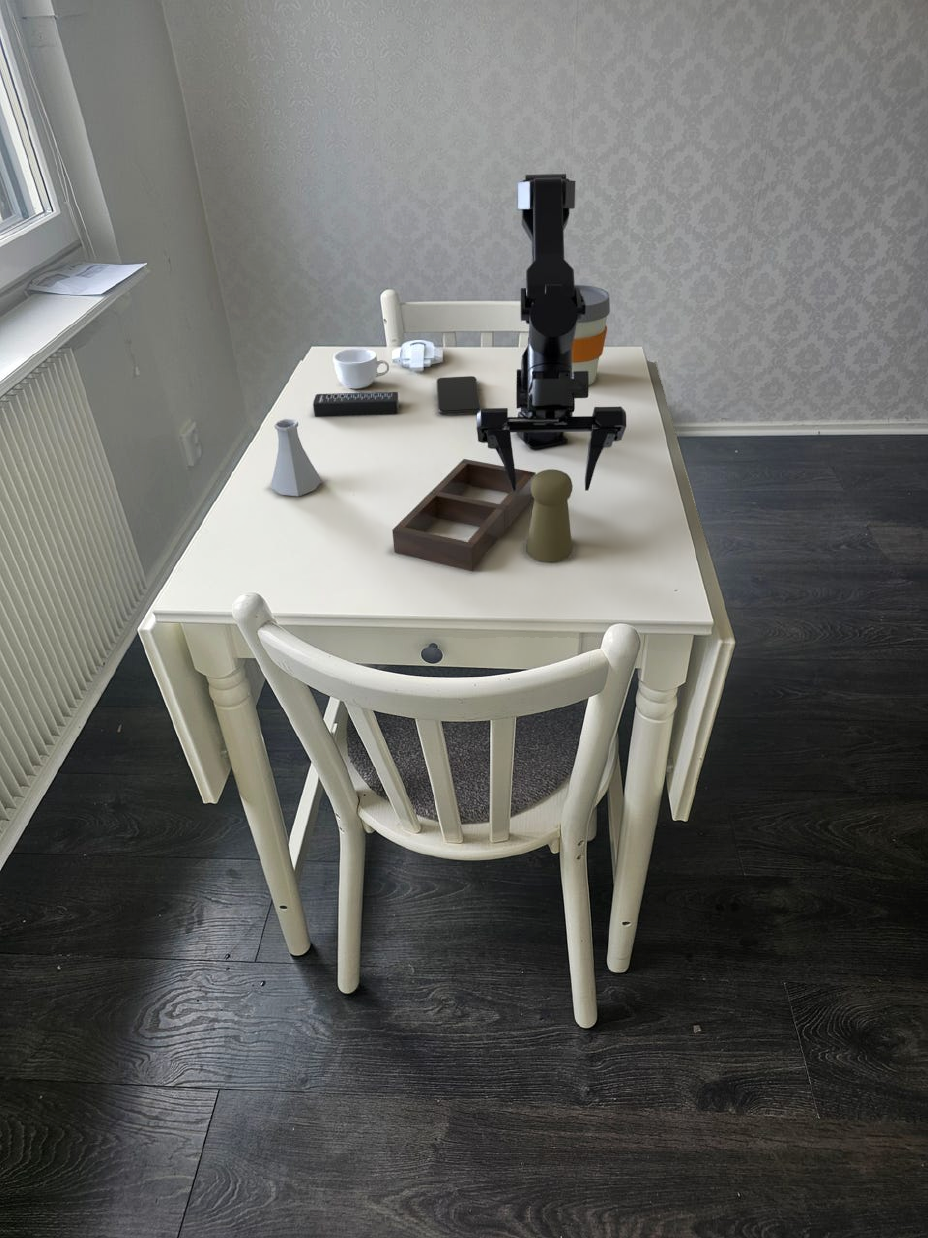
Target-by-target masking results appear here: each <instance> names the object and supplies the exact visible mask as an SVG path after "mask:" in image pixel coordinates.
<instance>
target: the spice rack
mask: <svg viewBox="0 0 928 1238" xmlns="http://www.w3.org/2000/svg"><path fill="white" fill-rule="evenodd" d="M515 474H516V491H513V490H512V487H511V484H510V481H509V479H508V476H507V473H506V469H505V467H504V465H499V464H494V463H489V462H484V461H483V462H482V461H478V460H473V459H467V458H463V459H462V460H461V461H460V462H458V464H457V465H456V466H455V467H454V468H453V469H452V470H451V471H450V472H449V473H448V474H447V475H446V476H445V477H444V478H443V479H442V480H441V481H440V482H439V483H438V484H437V485H436V486H435V487H434V488H433V489H432V490H431V491H430V492H429V493H428V494H427V495H426V496H425V497H424V498H423V499H422V500H420V501H419V503H418V504H417V505H416V506H415V507H414V508H413V509H412V510H411V511H410V512H408V513H407V515H406V516H404V518H403V519H402V520H401V521H399V523H397V525H395V527H394V528H393V529H391V530H392V541H393V552H394V553H395V554H398V555H399V554H400V555H404V556H407V557H411V558H416V559H420V560H425V561H429V562H432V563H436V564H441V565H445V566H449V567H453V568H457V569H462V570H466V571H469V572H474V570H475V569H476V568H477V566H478V565H479V564H480V563H481V562H482V560H483V559H484V558H485V556H486V555H487V554H488V553H489V551H490V550H491V549H492V548H493V547H494V546H495V544H496V543H497V542H498V540H499V539H500V538H501V537H502V535H503V534H504V533H505V532H506V531H507V529H508V528H509V527H511V525H512V524H513V522H514V521H515V520H516V519H517V517H518V516H519V515H520V514H521V513H522V511H523V510H524V508H526V506H527V505H528V504H529V502H530V501H531V500H532V499H533V496H532V493H531V482H532V479H533V477H534V476H535V475H536V474H537V473H536V471H531V470H524V469H519V468H515ZM468 486H473V487H479V488H483V489H488V490H494V491H498V492H503V493H508V494H506V496H505V497H504V499H503V500H502V501H501V502H500V503H496V502H491V501H486V500H481V499H477V498H471V497H467V496H462V495H460V494H461V493H462V492H463V491H464V490H465V489H466V488H467V487H468ZM437 518H440V519H444V520H448V521H452V522H457V523H462V524H466V525H471V526H475V527H478V528H477V530H476V531H475V532H474V533H473V535H471V537H470V538H469V539H468V540H467V541H465V540H462V539H457V538H454V537H453V538H452V537H448V536H445V535H444V536H443V535H439V534H434V533H431V532H427V531H426V530H427V529H428V528H429V527H430V526H431V525H432V524H433V522H434V521H435V520H437Z"/></svg>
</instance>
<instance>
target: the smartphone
mask: <svg viewBox="0 0 928 1238" xmlns="http://www.w3.org/2000/svg"><path fill="white" fill-rule="evenodd" d="M436 396H437V412H438V414H440V415H445V416H446V415H463V414H465V415H466V414H477V413H478V412H479V411H480V409H481V408H482V405H481V400H480V392H479V385H478V380H477V378H476V377H475V376H472V375H469V376H468V375H467V376H449V377H447V376H446V377H439V378H437V379H436Z"/></svg>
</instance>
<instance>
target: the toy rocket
mask: <svg viewBox="0 0 928 1238" xmlns="http://www.w3.org/2000/svg"><path fill="white" fill-rule="evenodd" d="M443 350H444V349H443V348H440V347H435V344H434V343H433V342H432V341H429V340H424V339H414V340H408V341H405V342H404V343H403V344H402V345H401V347H399V348H397V349H393V350H392V354H391V355H392V356H391V360H392V361H391V364H395V365H400V366H403V368H409V372H420V371H421V372H422V371H424V367H425V368H427V367H428V368H429V367H431V365H436V364H439V363H443V354H444V353H443V352H444V351H443Z"/></svg>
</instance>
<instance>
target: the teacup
mask: <svg viewBox="0 0 928 1238" xmlns="http://www.w3.org/2000/svg"><path fill="white" fill-rule="evenodd" d="M333 364H334V369H335V373H336V376H337V379H338V380H339V382H340V383H341V384H342V385H343V386H345V387H346V388H349V389H353V390H358V389H365V388H367V387H369V386H370V385H372V384H373V383H374V381H375V380H376V378H379V377H382V376H384V375H386V374H387V373H388V372H389V371H390V364H389V363H388V362H387V361H386V360H381V359H380V360H378V356H377V353H376V351H374V350H372V349H368V348H348V349H343V350H341V351H338V352H335V354H334V355H333ZM381 364H384V365H385V366H386V370H385V371H383V372H378V368H379V366H381Z"/></svg>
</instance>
